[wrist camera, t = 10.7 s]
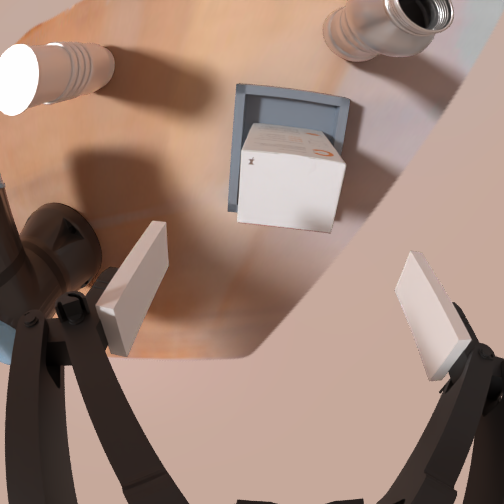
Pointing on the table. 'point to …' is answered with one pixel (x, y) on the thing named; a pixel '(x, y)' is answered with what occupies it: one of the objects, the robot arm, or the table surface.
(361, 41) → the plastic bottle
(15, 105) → the white bottle
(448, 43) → the table surface
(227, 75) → the table surface
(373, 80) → the table surface
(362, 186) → the table surface
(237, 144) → the tray
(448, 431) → the robot arm
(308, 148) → the small box
